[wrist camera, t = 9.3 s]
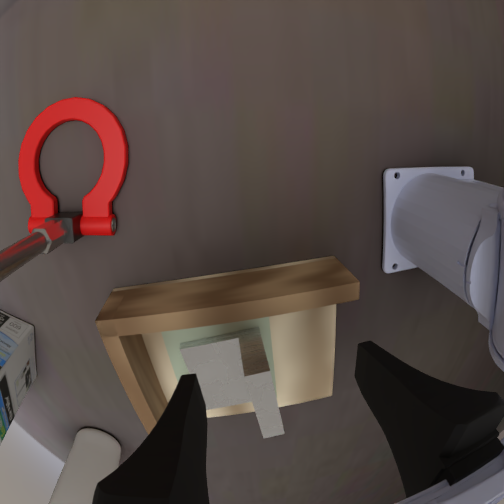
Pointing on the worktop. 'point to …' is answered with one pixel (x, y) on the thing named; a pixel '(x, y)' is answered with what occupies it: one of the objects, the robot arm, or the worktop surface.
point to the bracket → (235, 375)
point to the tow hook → (45, 204)
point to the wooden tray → (207, 315)
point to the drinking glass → (86, 467)
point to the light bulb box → (14, 366)
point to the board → (275, 344)
